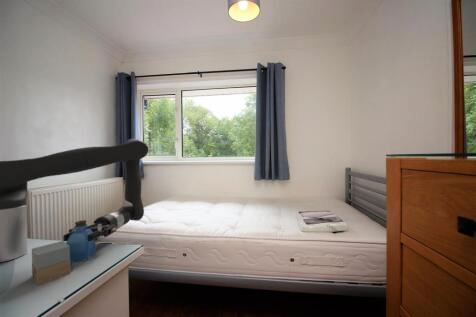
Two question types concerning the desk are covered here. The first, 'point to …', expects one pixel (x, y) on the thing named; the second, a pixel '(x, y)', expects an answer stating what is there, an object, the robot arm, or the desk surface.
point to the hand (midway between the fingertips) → (76, 238)
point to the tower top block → (50, 254)
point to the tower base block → (51, 272)
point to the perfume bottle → (81, 243)
